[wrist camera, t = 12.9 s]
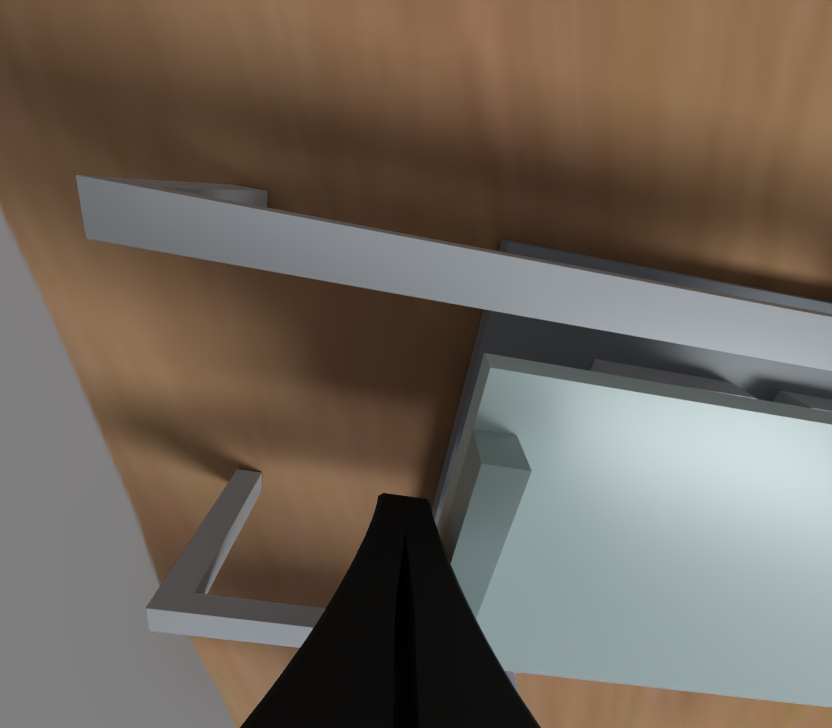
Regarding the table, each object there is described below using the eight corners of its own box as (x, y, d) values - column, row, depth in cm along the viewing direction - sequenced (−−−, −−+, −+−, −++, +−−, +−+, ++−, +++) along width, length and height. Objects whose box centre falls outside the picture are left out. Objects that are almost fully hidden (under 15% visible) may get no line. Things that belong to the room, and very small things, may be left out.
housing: (779, 562, 22) (933, 718, 15) (237, 487, 19) (149, 631, 13) (969, 325, 16) (1342, 413, 9) (234, 184, 14) (75, 174, 7)
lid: (825, 679, 14) (889, 755, 12) (408, 631, 13) (407, 705, 11) (1066, 451, 10) (1219, 512, 8) (484, 352, 9) (502, 395, 7)
